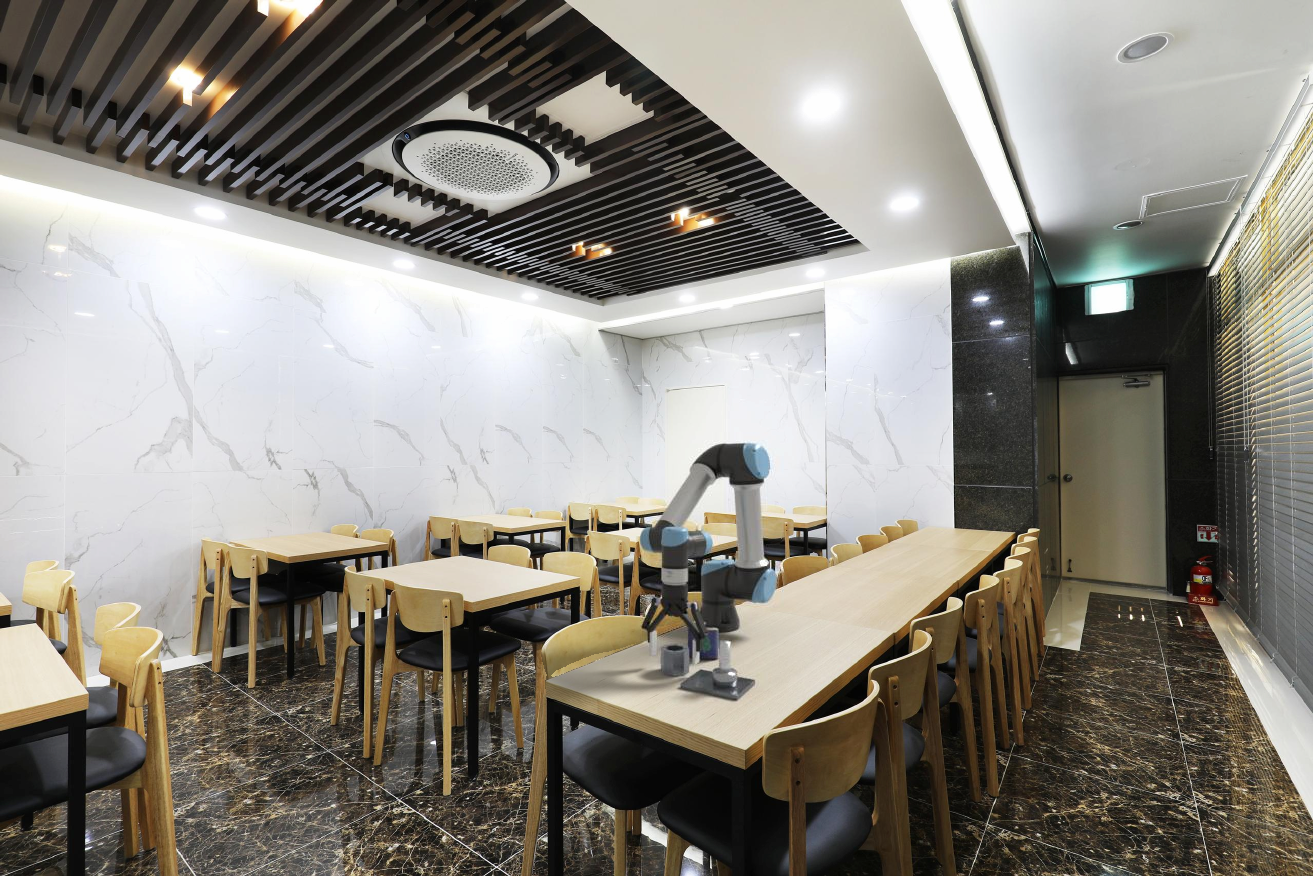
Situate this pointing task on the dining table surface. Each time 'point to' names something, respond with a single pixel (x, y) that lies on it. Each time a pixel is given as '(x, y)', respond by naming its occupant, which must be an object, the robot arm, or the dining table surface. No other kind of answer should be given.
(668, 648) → the tube
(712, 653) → the flask
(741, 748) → the dining table surface
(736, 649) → the dining table surface
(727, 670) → the shaft fixture
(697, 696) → the dining table surface
